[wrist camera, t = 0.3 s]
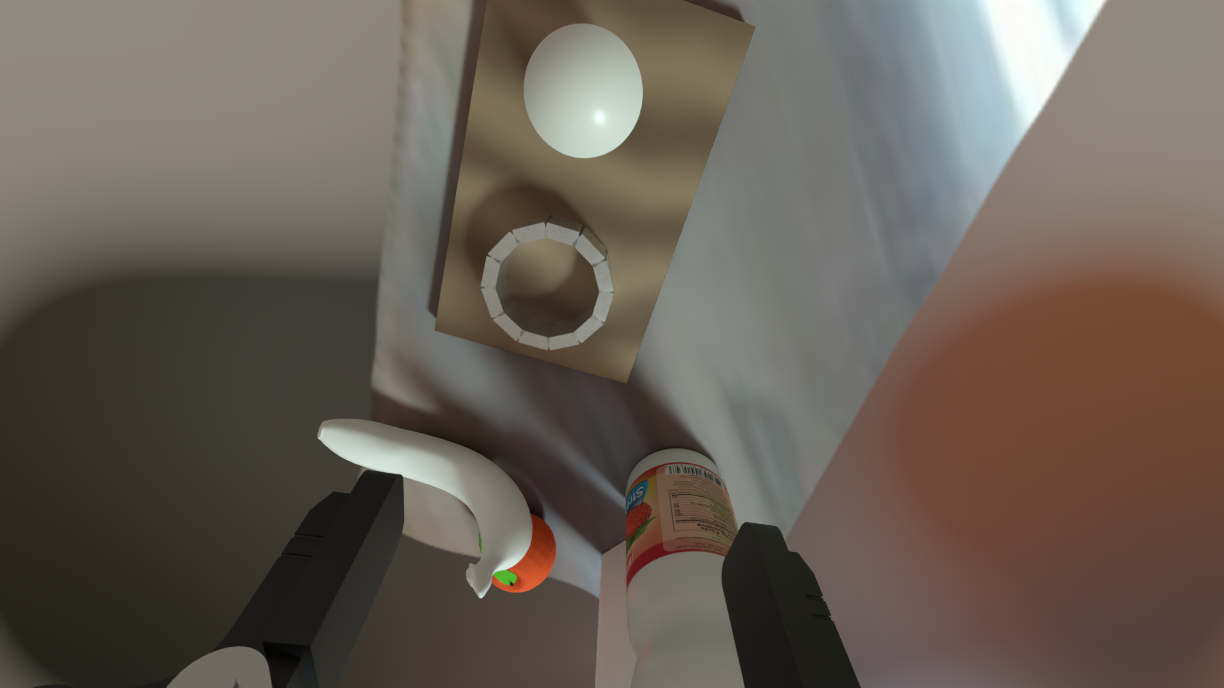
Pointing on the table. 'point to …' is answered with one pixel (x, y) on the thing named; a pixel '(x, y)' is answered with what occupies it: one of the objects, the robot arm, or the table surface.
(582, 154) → the white rounded cylinder
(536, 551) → the clementine
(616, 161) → the board
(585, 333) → the collar
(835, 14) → the table surface
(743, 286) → the table surface
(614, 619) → the milk
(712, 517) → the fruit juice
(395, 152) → the table surface
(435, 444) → the white bird figurine
